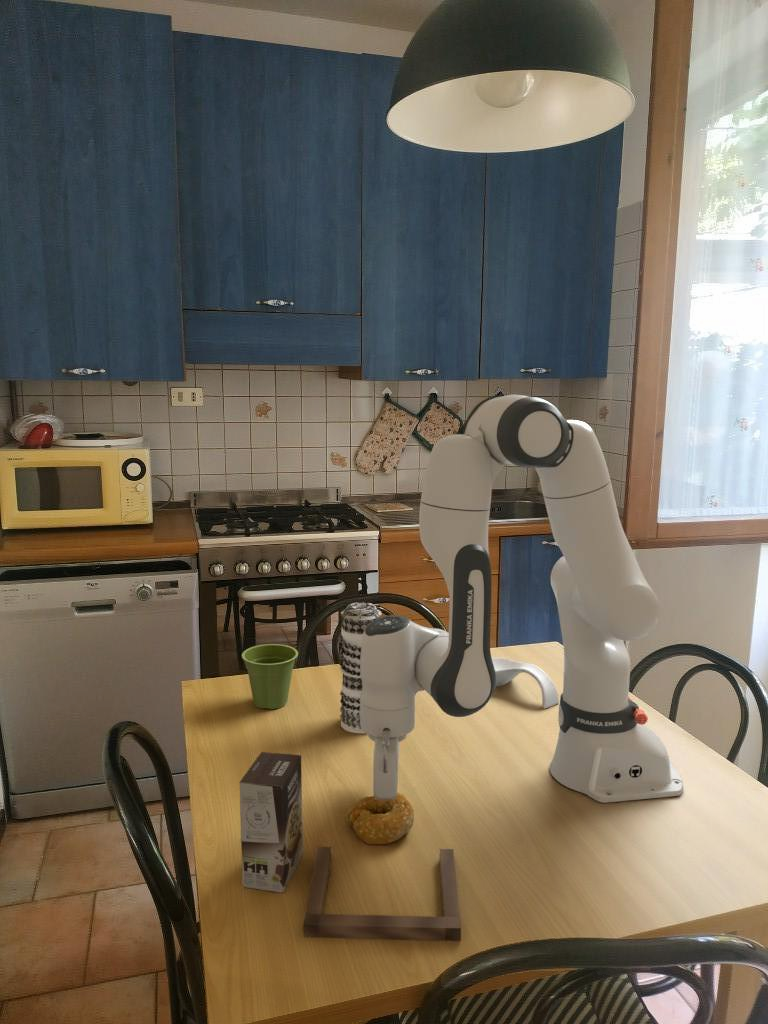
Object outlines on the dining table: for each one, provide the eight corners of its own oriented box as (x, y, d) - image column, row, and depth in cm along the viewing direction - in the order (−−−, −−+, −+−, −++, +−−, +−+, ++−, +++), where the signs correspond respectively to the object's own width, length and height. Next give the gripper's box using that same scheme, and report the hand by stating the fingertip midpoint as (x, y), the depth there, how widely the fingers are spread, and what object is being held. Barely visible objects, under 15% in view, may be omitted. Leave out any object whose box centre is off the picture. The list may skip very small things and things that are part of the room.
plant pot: (276, 720, 157) (274, 668, 154) (231, 707, 162) (229, 657, 160) (309, 698, 167) (309, 649, 164) (266, 687, 172) (265, 639, 170)
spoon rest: (456, 679, 178) (456, 650, 176) (491, 667, 185) (492, 638, 184) (535, 715, 160) (536, 683, 158) (570, 700, 167) (572, 669, 165)
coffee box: (285, 894, 105) (282, 787, 102) (241, 887, 106) (237, 782, 103) (305, 853, 114) (303, 753, 111) (264, 848, 115) (261, 749, 112)
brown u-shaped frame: (453, 860, 112) (453, 849, 112) (460, 940, 97) (461, 928, 96) (317, 857, 113) (317, 846, 113) (303, 937, 97) (303, 924, 97)
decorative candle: (374, 710, 161) (374, 596, 156) (391, 729, 153) (391, 610, 148) (333, 717, 158) (331, 601, 153) (347, 737, 149) (346, 615, 144)
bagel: (366, 801, 127) (366, 775, 126) (425, 822, 122) (425, 795, 121) (333, 833, 119) (332, 806, 118) (394, 857, 114) (394, 828, 113)
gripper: (406, 747, 113) (405, 832, 116) (407, 689, 133) (406, 762, 136) (363, 747, 113) (364, 831, 116) (371, 689, 133) (371, 762, 136)
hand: (387, 793), depth 126 cm, fingers closed
